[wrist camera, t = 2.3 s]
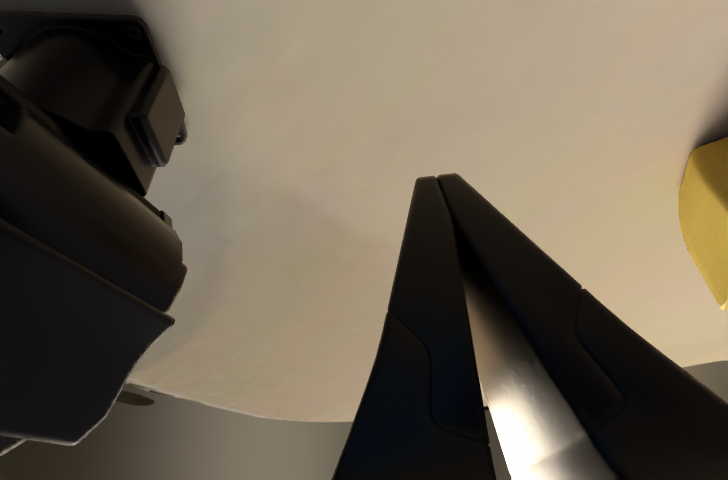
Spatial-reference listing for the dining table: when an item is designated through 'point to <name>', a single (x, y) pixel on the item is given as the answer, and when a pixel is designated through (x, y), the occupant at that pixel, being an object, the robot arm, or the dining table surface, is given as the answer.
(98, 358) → the robot arm
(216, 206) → the dining table surface
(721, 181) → the flower pot
